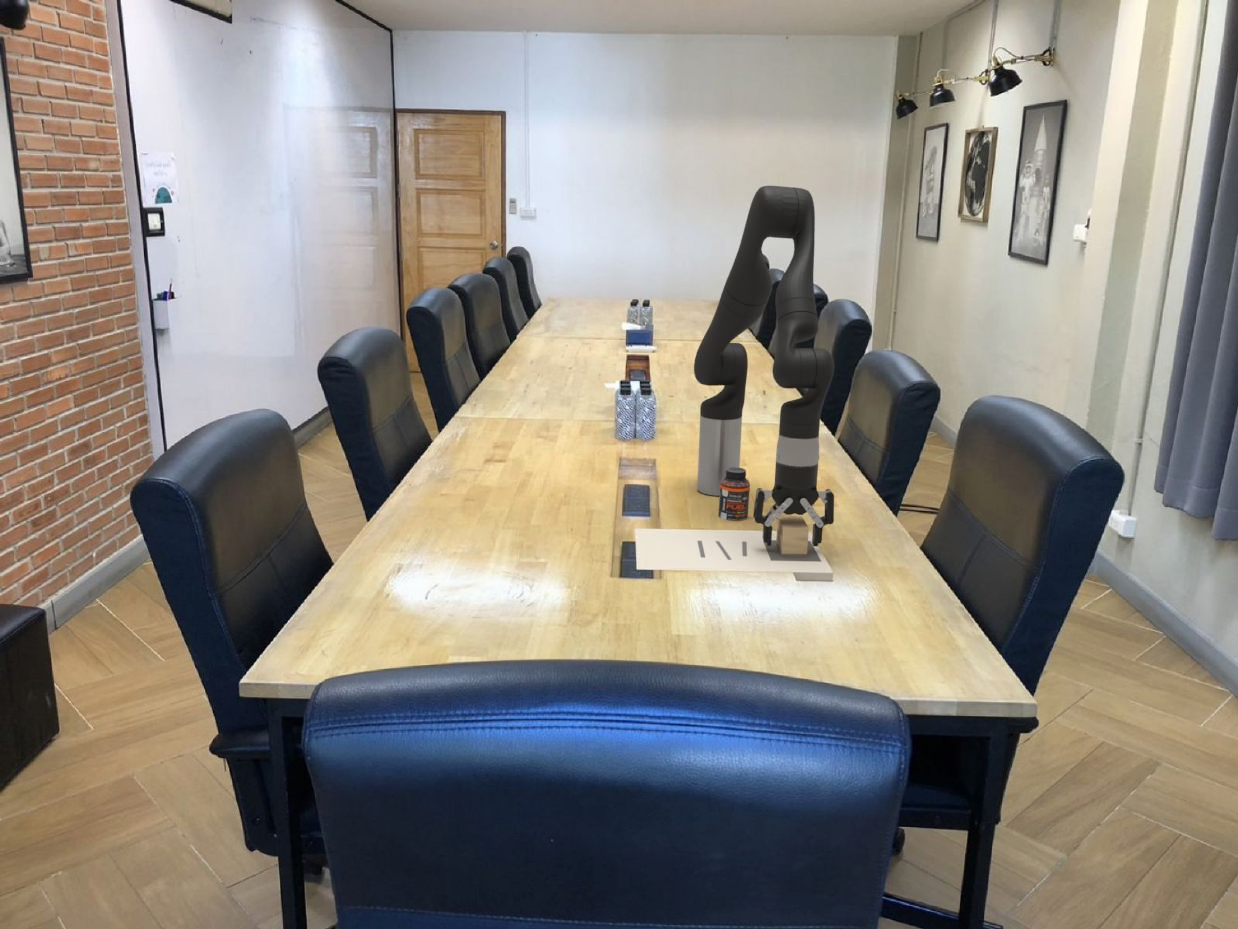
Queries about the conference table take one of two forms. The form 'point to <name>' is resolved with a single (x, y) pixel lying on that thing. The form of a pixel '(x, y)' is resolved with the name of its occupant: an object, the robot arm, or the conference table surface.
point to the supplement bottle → (734, 495)
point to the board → (724, 553)
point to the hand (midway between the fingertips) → (791, 544)
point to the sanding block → (792, 536)
